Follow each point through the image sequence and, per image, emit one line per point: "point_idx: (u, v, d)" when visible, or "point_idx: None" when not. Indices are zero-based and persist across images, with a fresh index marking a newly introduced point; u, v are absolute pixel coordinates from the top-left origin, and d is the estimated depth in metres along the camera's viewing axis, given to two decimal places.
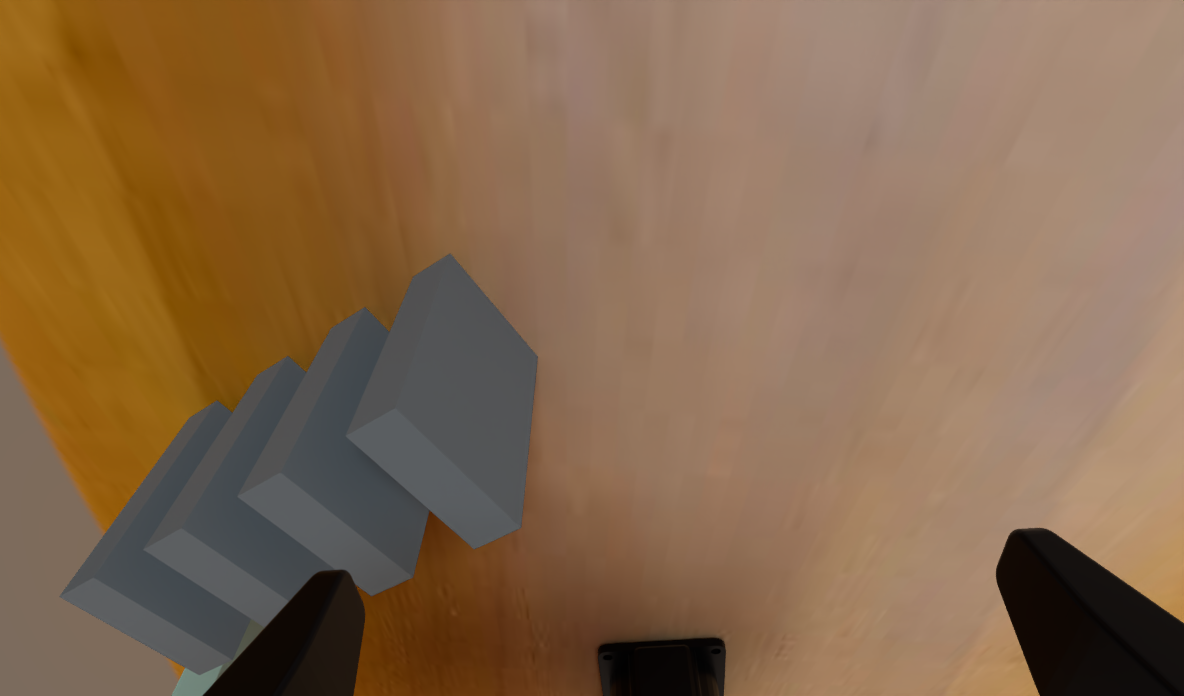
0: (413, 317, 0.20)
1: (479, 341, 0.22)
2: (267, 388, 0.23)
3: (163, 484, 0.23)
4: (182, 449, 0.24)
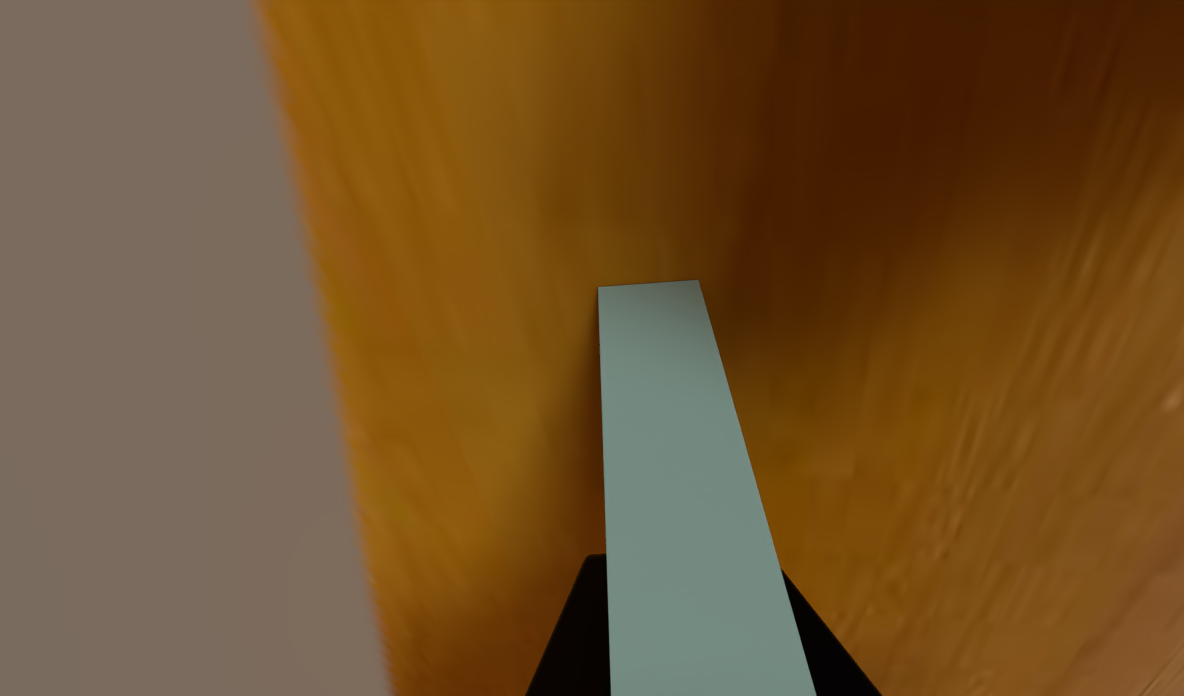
0: None
1: None
2: None
3: None
4: None
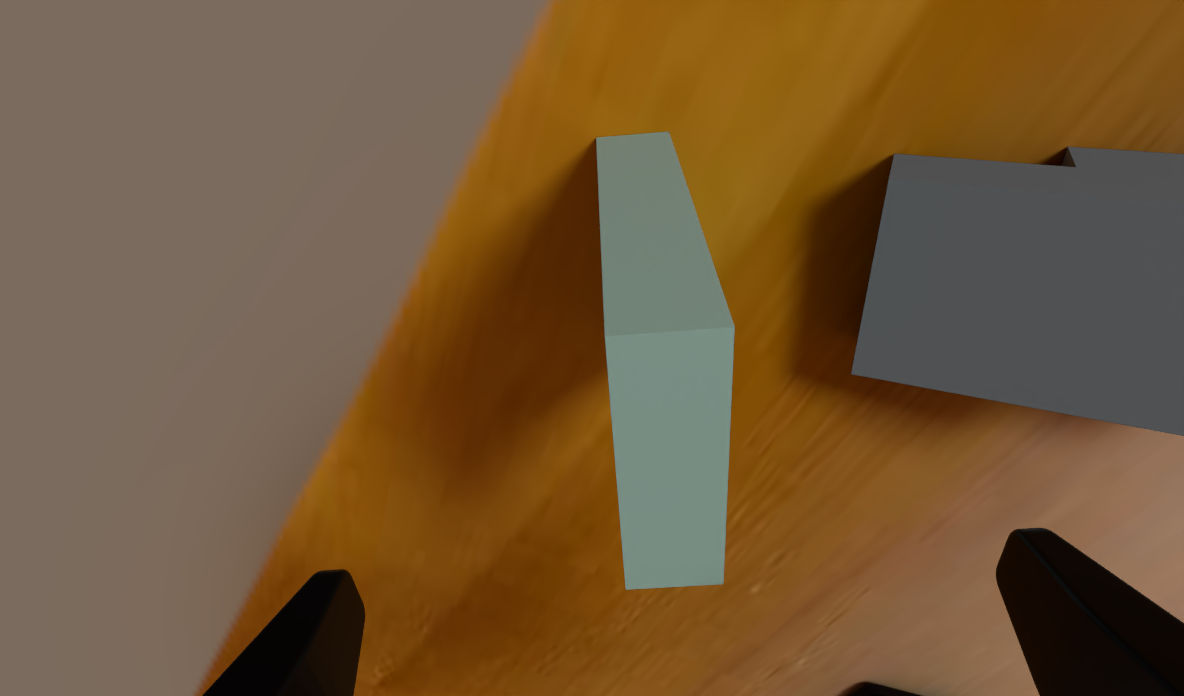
0: None
1: None
2: (1171, 154, 0.15)
3: (1120, 177, 0.14)
4: (1031, 164, 0.14)
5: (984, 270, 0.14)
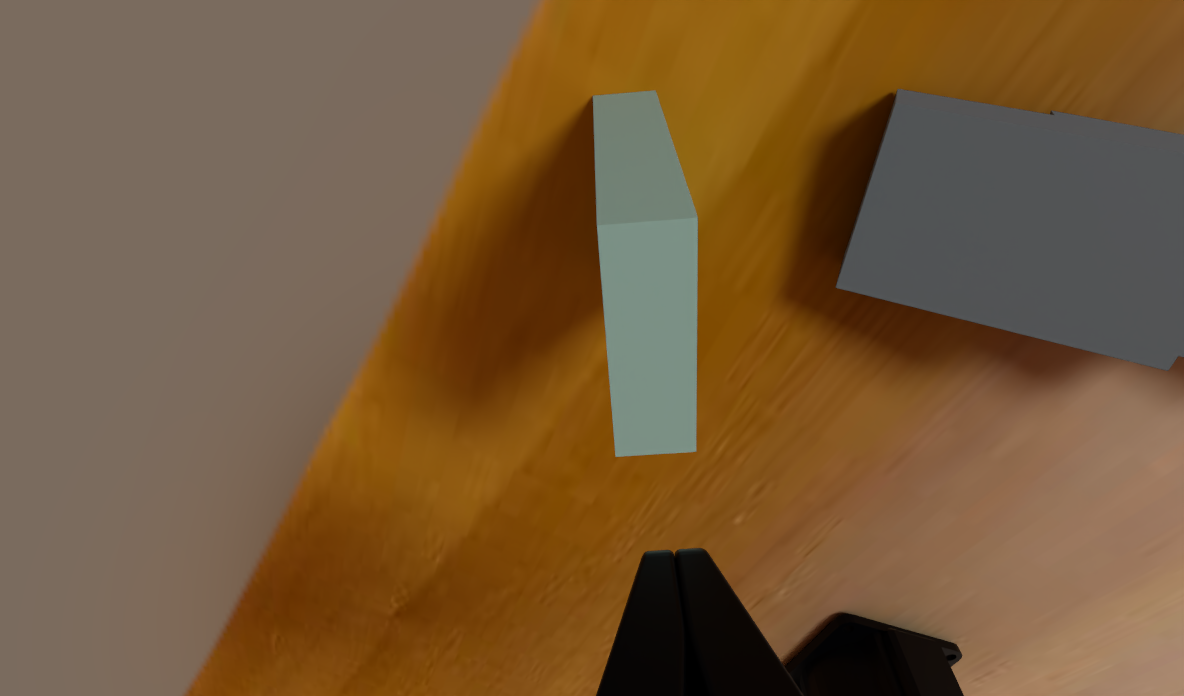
0: None
1: None
2: (1134, 126, 0.17)
3: None
4: (1012, 109, 0.17)
5: (964, 195, 0.17)
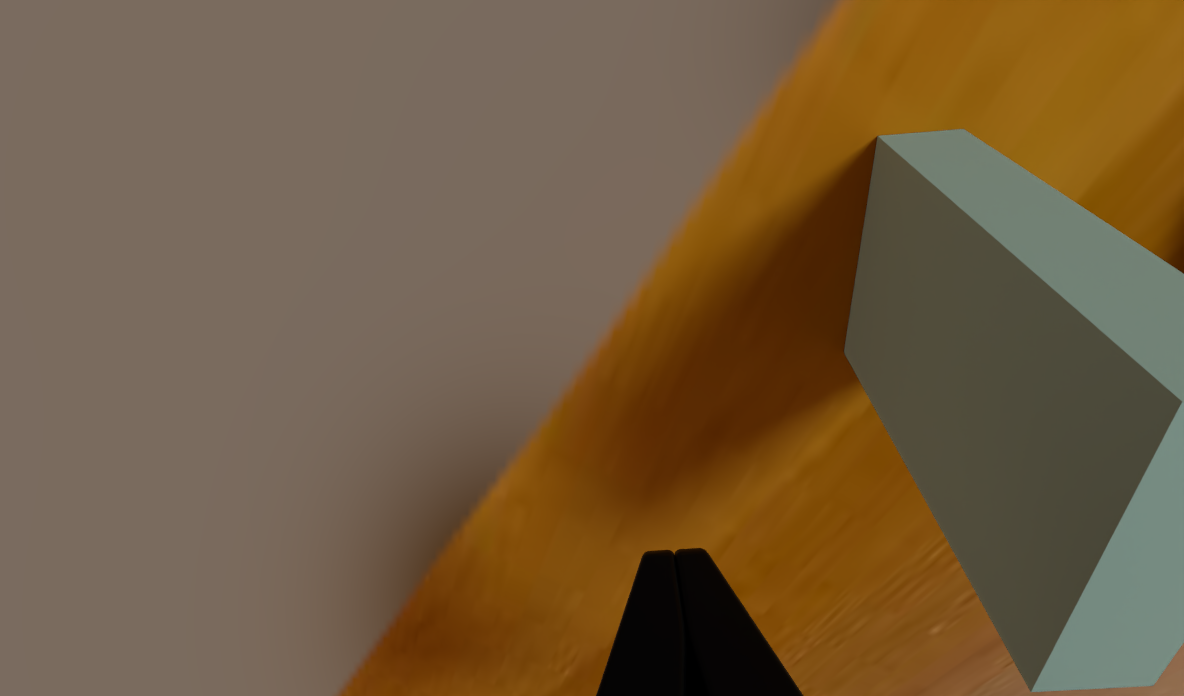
0: None
1: None
2: None
3: None
4: None
5: None
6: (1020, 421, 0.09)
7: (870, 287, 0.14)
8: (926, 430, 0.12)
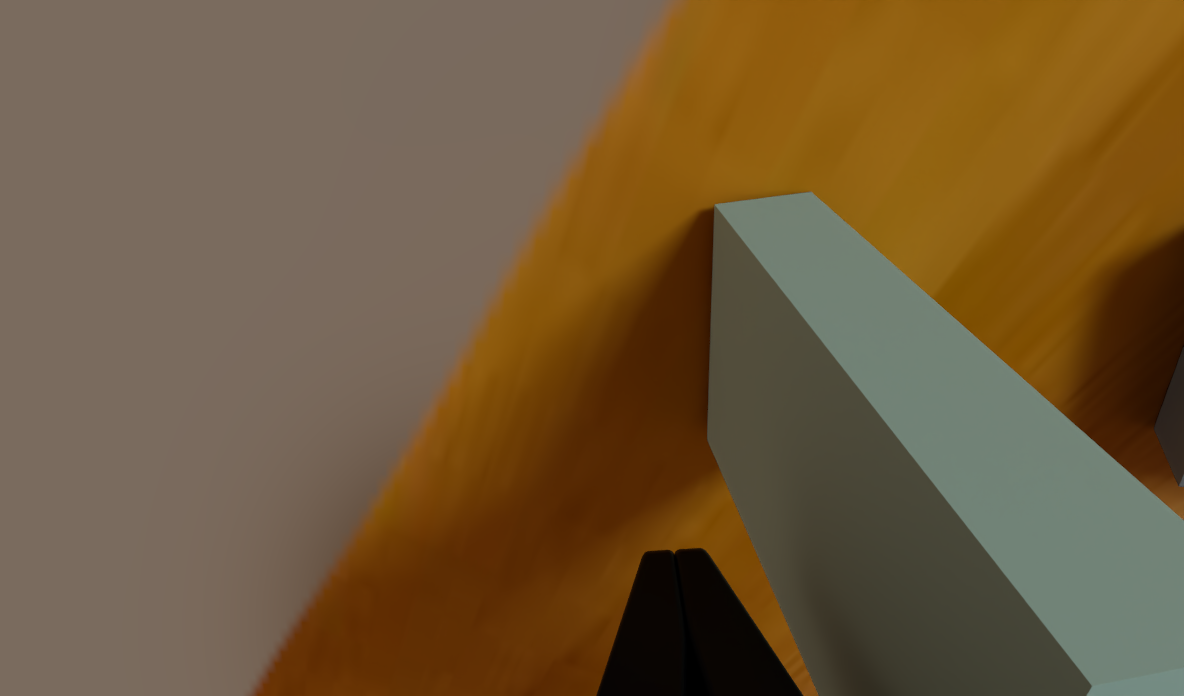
0: None
1: None
2: None
3: None
4: None
5: None
6: (889, 607, 0.07)
7: (724, 377, 0.12)
8: (791, 565, 0.10)
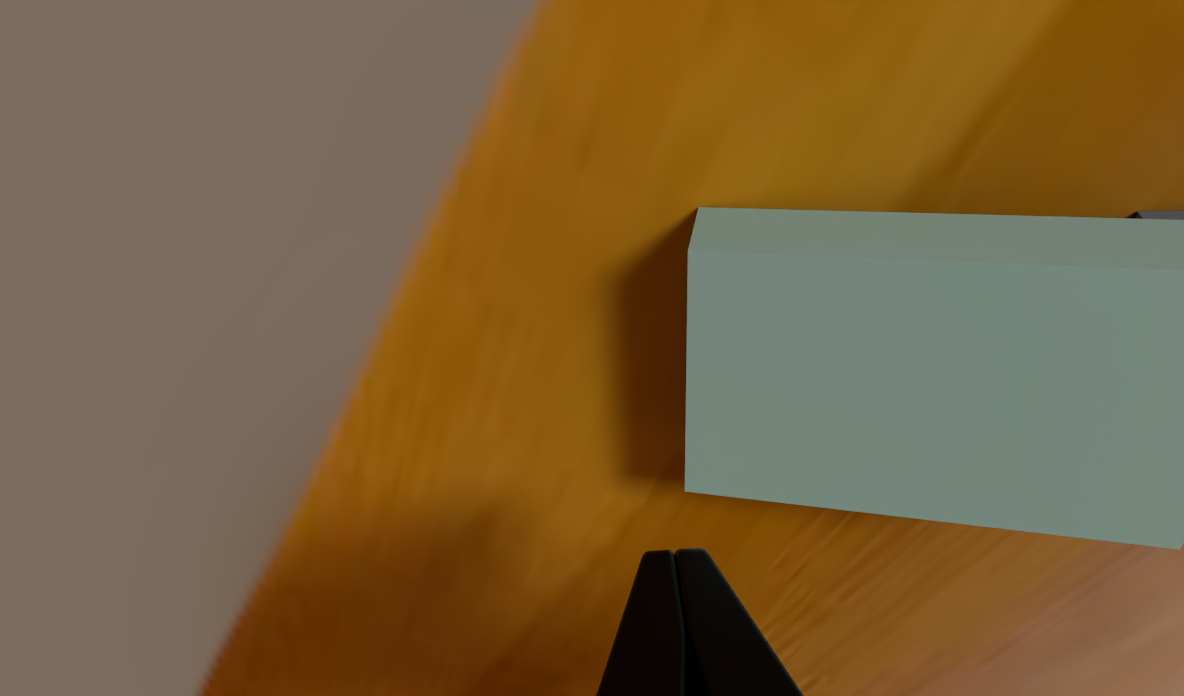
0: None
1: None
2: None
3: None
4: None
5: None
6: (1117, 385, 0.10)
7: (736, 404, 0.11)
8: (931, 469, 0.11)
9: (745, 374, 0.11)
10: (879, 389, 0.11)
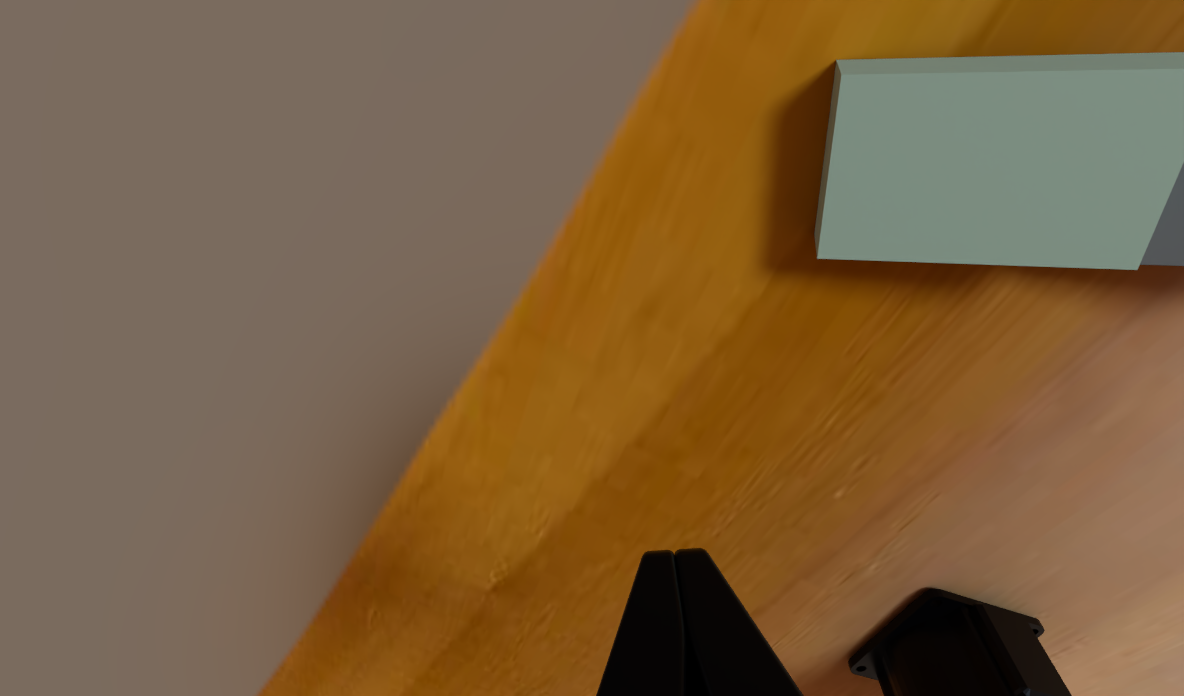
0: None
1: None
2: None
3: None
4: None
5: None
6: (1097, 150, 0.17)
7: (860, 185, 0.18)
8: (982, 224, 0.18)
9: (868, 161, 0.18)
10: (953, 166, 0.17)
